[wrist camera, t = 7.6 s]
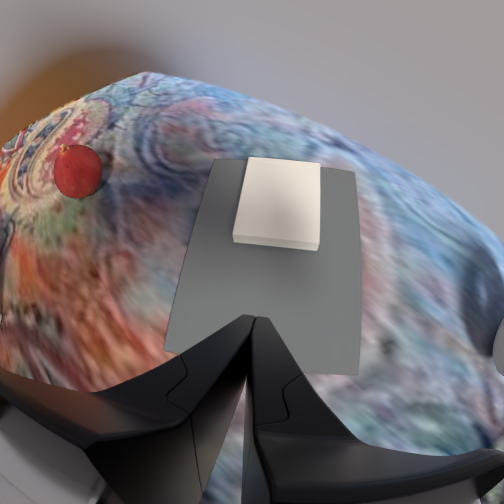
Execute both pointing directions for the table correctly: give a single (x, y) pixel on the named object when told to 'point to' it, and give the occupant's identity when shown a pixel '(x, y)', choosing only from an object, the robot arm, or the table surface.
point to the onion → (77, 171)
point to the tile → (279, 204)
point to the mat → (275, 276)
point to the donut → (499, 349)
